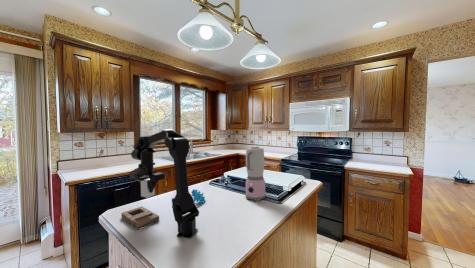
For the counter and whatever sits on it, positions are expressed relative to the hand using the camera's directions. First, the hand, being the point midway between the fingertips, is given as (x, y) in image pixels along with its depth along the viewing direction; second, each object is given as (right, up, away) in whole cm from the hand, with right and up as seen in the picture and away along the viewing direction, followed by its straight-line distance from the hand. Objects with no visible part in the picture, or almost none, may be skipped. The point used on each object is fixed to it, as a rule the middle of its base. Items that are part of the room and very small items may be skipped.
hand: (147, 192), depth 96 cm
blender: (+56, -11, +21) cm, 61 cm away
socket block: (-2, -12, -4) cm, 13 cm away
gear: (+22, -12, +17) cm, 30 cm away
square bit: (0, -2, 0) cm, 2 cm away
